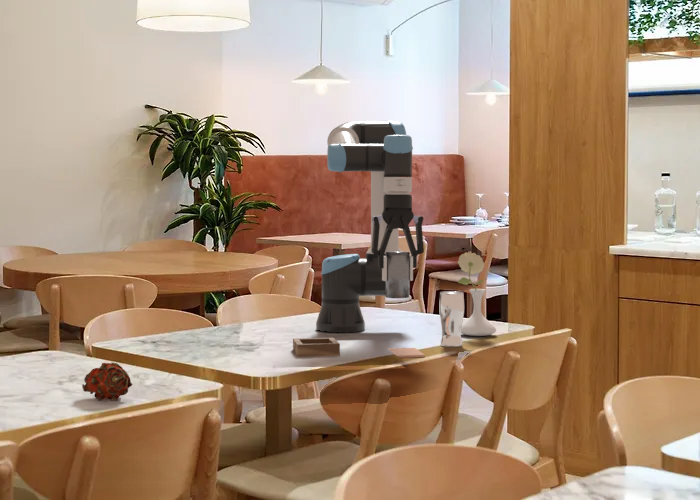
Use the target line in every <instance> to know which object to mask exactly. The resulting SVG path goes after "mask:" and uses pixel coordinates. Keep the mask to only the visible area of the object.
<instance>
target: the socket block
mask: <svg viewBox="0 0 700 500" xmlns="http://www.w3.org/2000/svg"><path fill="white" fill-rule="evenodd" d="M340 344H341V343H340V342H339V341H337V340H336V339H335V338H334V337H308V338H307V337H306V338H305V337H304V338H302V337H301V338H292V351H293V352H294V354H295V355H296V356H297V357H329V356H333V357H335V356H340V355H341V354H340V353H341V352H340V351H341V345H340Z"/></svg>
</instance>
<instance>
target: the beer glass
mask: <svg viewBox="0 0 700 500" xmlns="http://www.w3.org/2000/svg"><path fill="white" fill-rule="evenodd" d="M464 297H465V296H464V292H463V291H453V290H451V291H447V290H446V291H440V292H439V310H438V311H439V318H440V324H441V325H440V326H441V339H440V340H441V341H440V346H441V347H446V348H459V347H462V346H463V339H462V333H461V328H462V323H464V321H463V320H464V315H465V298H464Z"/></svg>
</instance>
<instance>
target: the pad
mask: <svg viewBox="0 0 700 500" xmlns="http://www.w3.org/2000/svg"><path fill="white" fill-rule="evenodd" d="M387 350H389V352H391V353H392V354H394V356H396V357H398V359H399V358H400V359H405V358H406V359H408V358H412V359H413V358H425V353H422V352H421V351H420V350H419V349H417V348H415V347H393V348H392V347H391V348H389V347H388V348H387Z"/></svg>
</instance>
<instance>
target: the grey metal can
mask: <svg viewBox="0 0 700 500" xmlns="http://www.w3.org/2000/svg"><path fill="white" fill-rule="evenodd" d="M386 256H387V281H386V286H385V298H388V299H408V298H409V299H410V291H411V290H410V288H411V287H410V286H411V285H410V282H411V281H410V256H411V253H410V251H403V250H402V251H389V252H386Z"/></svg>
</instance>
